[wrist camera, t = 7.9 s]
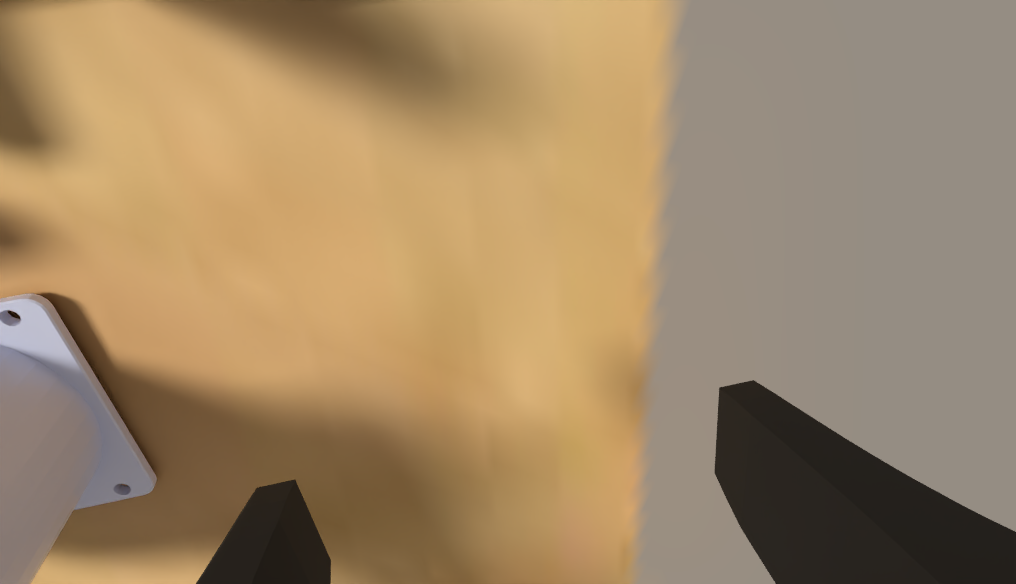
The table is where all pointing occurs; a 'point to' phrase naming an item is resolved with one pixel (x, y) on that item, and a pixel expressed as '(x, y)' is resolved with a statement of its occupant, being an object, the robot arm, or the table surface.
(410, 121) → the table surface
